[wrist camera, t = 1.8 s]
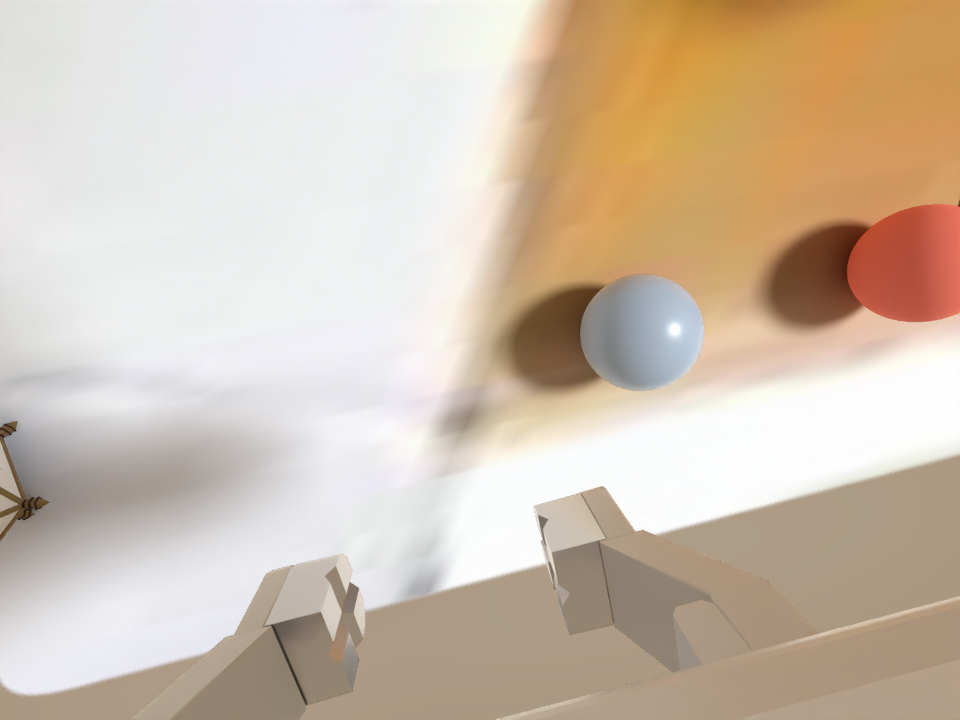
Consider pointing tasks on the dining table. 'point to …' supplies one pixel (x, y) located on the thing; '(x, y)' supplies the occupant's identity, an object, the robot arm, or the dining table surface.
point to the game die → (12, 489)
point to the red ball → (910, 264)
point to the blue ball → (642, 332)
